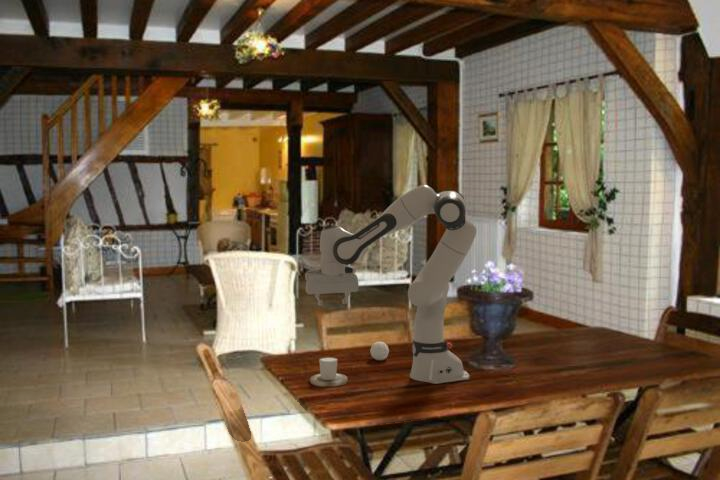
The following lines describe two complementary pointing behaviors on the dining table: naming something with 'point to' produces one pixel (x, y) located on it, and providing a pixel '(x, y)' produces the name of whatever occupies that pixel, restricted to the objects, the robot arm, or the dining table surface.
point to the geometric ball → (379, 351)
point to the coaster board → (328, 381)
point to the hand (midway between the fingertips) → (332, 304)
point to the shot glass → (328, 368)
